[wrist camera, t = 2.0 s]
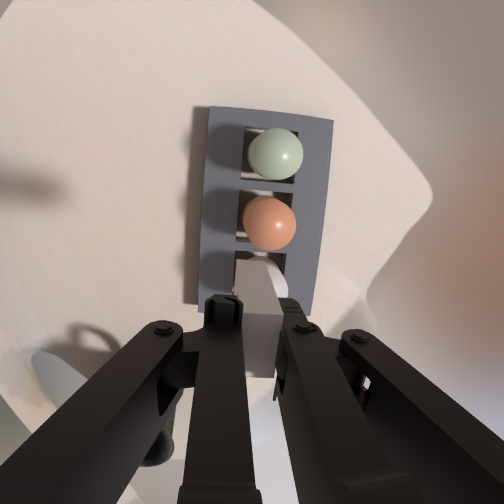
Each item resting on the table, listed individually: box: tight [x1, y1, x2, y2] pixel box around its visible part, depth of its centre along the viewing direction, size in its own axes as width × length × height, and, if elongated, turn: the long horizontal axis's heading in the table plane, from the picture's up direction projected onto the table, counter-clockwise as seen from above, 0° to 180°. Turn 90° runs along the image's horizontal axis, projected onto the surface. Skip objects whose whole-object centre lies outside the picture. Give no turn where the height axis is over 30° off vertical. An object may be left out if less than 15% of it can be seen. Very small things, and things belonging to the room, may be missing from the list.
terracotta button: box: [242, 195, 296, 251], centre depth 34 cm, size 5×5×5 cm
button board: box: [198, 106, 334, 316], centre depth 37 cm, size 14×24×2 cm, turn 175°
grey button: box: [248, 256, 288, 298], centre depth 36 cm, size 5×5×5 cm
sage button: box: [247, 128, 303, 180], centre depth 32 cm, size 5×5×5 cm
